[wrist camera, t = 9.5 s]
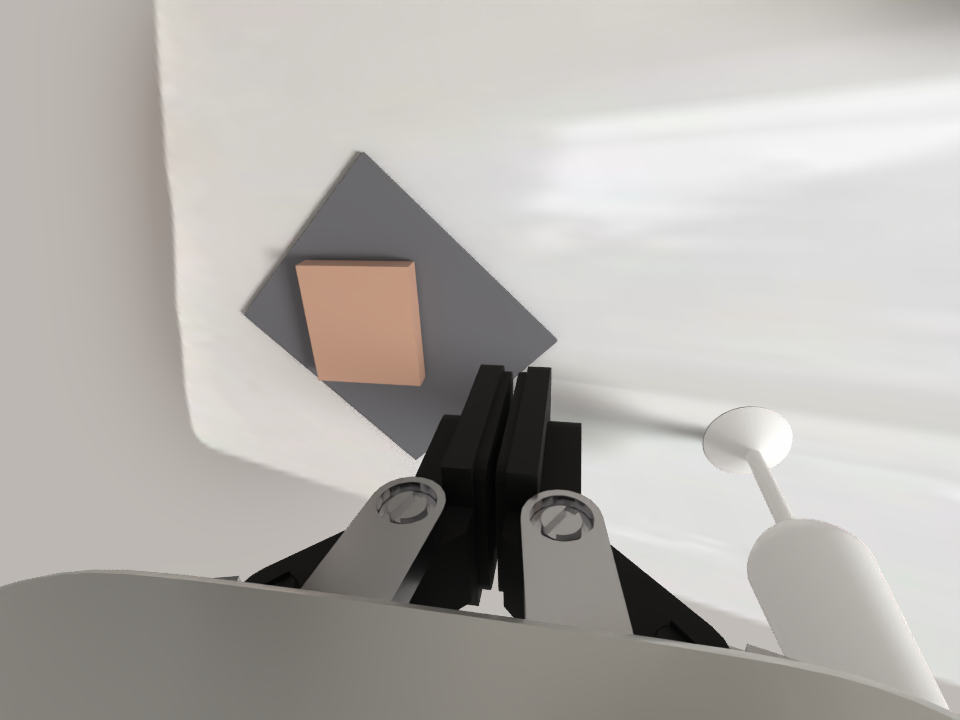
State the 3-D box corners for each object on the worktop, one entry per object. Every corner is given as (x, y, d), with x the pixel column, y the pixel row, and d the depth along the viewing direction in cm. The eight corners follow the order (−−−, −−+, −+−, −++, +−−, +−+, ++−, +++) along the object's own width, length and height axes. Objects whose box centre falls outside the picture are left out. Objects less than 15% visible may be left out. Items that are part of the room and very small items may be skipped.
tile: (415, 260, 39) (307, 258, 41) (407, 267, 37) (295, 265, 39) (426, 375, 44) (328, 370, 45) (420, 386, 42) (318, 380, 43)
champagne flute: (711, 481, 44) (831, 833, 23) (694, 417, 41) (811, 743, 20) (798, 466, 42) (1019, 838, 21) (786, 397, 39) (1022, 739, 18)
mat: (247, 312, 45) (243, 314, 44) (364, 152, 37) (361, 152, 36) (417, 456, 48) (416, 460, 48) (556, 339, 40) (556, 341, 40)
